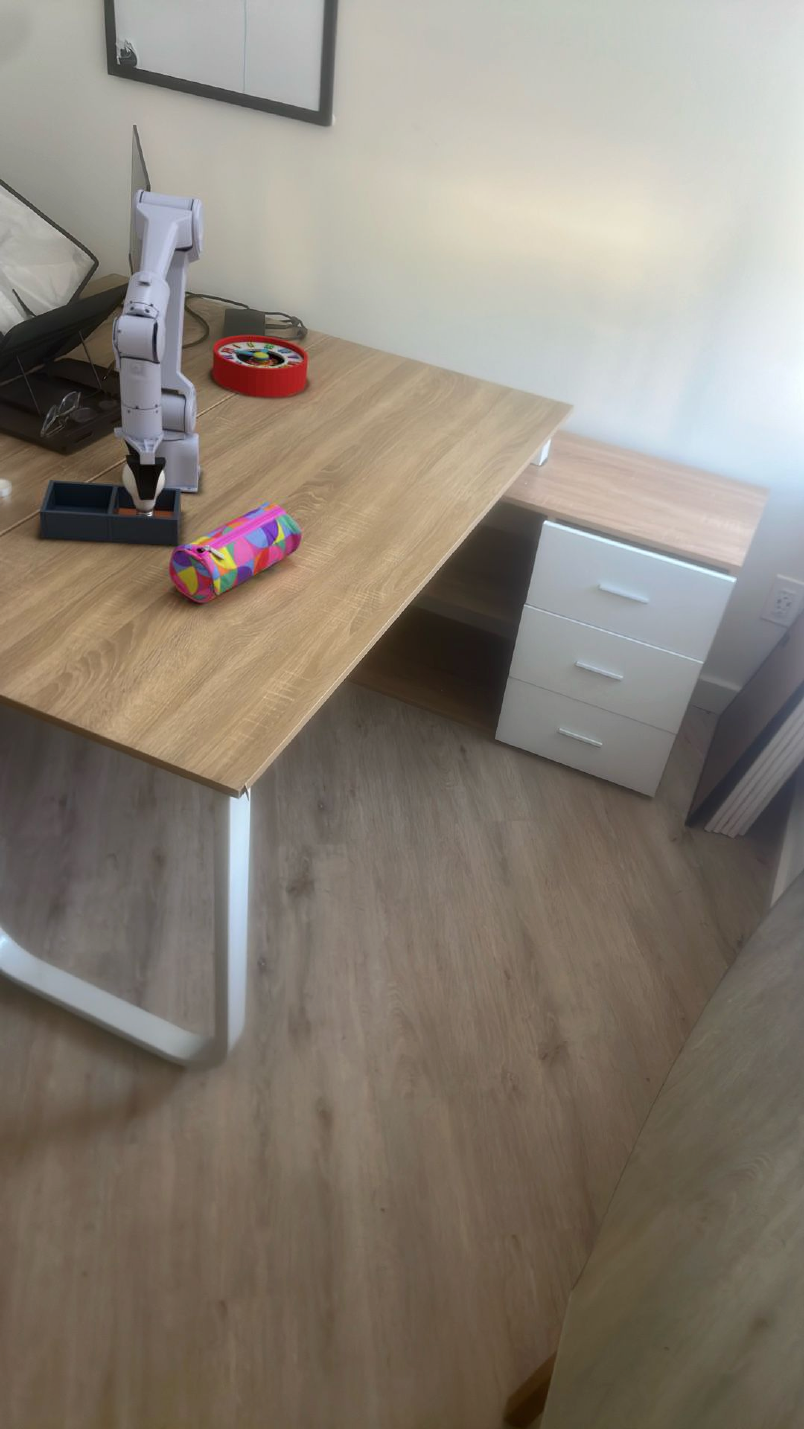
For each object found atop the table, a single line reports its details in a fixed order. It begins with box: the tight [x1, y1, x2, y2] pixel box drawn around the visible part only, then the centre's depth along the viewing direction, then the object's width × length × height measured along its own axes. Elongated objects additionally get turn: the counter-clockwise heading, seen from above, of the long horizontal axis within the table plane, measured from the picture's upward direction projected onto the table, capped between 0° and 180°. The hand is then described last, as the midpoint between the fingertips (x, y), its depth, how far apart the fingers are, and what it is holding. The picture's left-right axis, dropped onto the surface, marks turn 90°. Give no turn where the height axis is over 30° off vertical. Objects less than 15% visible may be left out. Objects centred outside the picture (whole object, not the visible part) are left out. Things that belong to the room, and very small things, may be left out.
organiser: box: [39, 479, 182, 547], centre depth 148 cm, size 20×10×4 cm, turn 98°
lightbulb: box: [121, 463, 165, 517], centre depth 147 cm, size 6×6×11 cm
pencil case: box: [168, 501, 302, 604], centre depth 140 cm, size 22×9×9 cm, turn 148°
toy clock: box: [212, 334, 309, 398], centre depth 203 cm, size 20×6×20 cm
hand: (144, 487), depth 146 cm, fingers open, 7 cm apart
